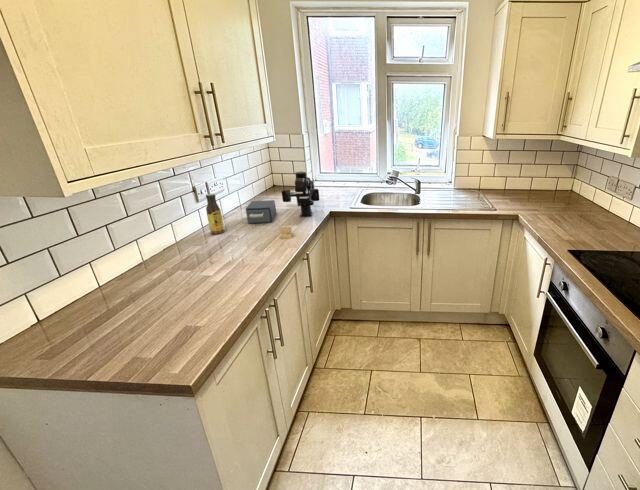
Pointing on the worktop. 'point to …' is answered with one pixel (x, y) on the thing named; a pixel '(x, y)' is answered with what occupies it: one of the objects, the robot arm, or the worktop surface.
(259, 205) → the cabinet
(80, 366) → the worktop surface
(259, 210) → the drawer
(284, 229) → the block
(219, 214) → the sauce bottle
